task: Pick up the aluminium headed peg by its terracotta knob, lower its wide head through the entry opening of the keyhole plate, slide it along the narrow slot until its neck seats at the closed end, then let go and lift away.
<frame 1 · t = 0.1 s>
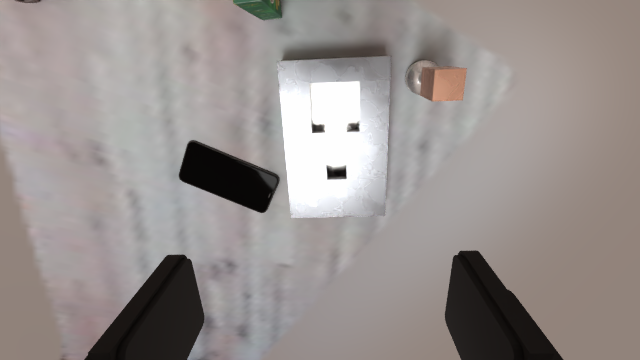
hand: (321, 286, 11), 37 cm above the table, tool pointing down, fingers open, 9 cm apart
smartphone: (230, 176, 50), on the table
keyhole plate: (335, 137, 47), on the table
peg: (421, 77, 43), on the table
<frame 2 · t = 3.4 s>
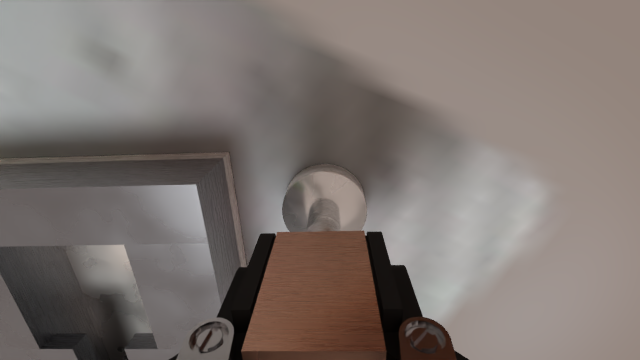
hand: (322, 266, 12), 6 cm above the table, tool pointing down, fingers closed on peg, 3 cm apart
keyhole plate: (151, 311, 21), on the table
peg: (324, 200, 18), on the table, touching gripper
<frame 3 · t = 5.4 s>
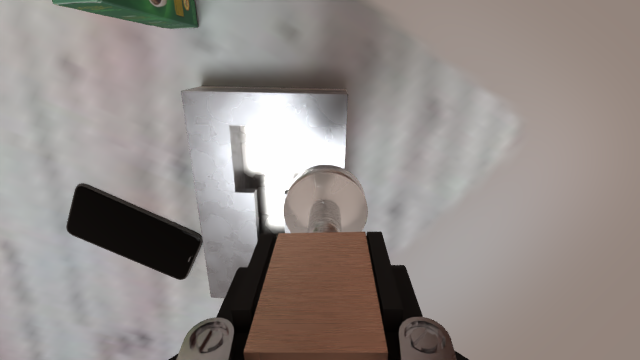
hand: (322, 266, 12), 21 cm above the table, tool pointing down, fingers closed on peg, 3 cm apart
smartphone: (138, 231, 38), on the table
keyhole plate: (277, 191, 34), on the table
peg: (325, 201, 18), point 15 cm above the table, touching gripper
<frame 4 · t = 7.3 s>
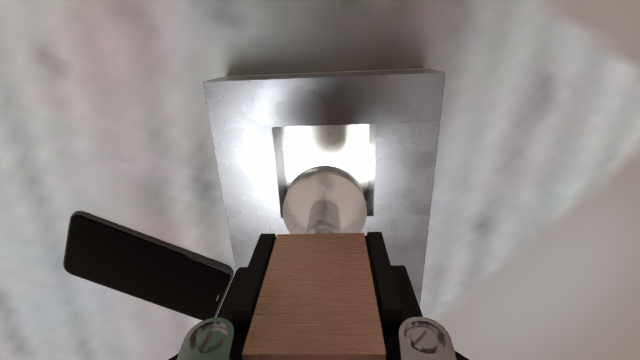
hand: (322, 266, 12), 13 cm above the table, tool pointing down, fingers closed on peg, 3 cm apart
smartphone: (152, 265, 30), on the table
keyhole plate: (328, 209, 26), on the table
peg: (324, 202, 18), point 8 cm above the table, touching gripper
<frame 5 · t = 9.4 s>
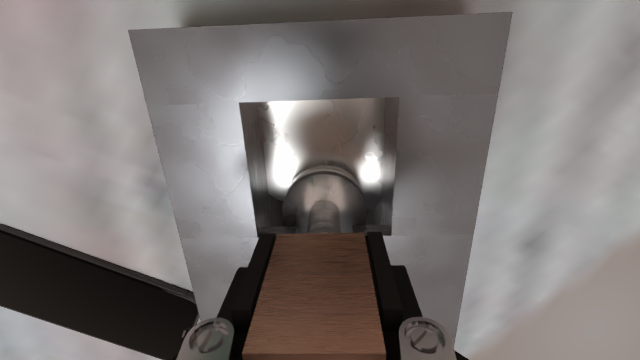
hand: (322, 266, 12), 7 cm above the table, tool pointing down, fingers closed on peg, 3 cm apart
smartphone: (99, 291, 23), on the table
keyhole plate: (326, 222, 20), on the table
peg: (324, 202, 18), point 1 cm above the table, touching gripper
when the fingers open (7 cm above the table, at t = 11.0 s): peg stays where it is, resting on keyhole plate.
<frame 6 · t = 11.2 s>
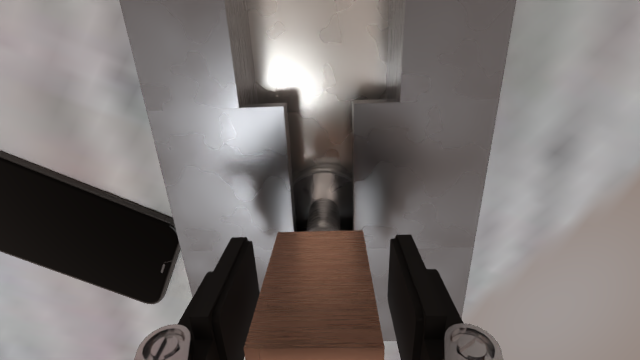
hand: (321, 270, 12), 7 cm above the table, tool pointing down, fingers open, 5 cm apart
smartphone: (68, 221, 21), on the table
keyhole plate: (322, 125, 17), on the table
peg: (324, 200, 18), point 1 cm above the table, touching keyhole plate
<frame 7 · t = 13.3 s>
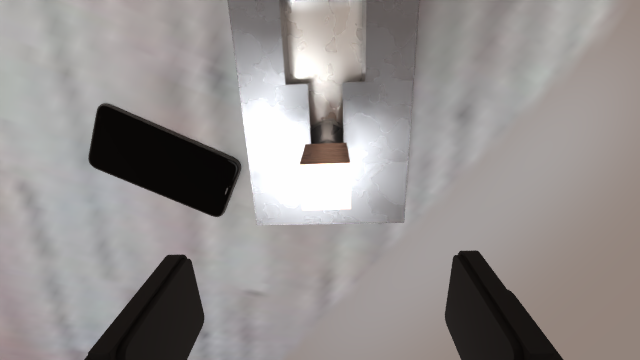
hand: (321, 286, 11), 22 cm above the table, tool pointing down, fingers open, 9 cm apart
smartphone: (167, 161, 33), on the table
keyhole plate: (326, 99, 30), on the table
peg: (327, 143, 30), point 1 cm above the table, touching keyhole plate
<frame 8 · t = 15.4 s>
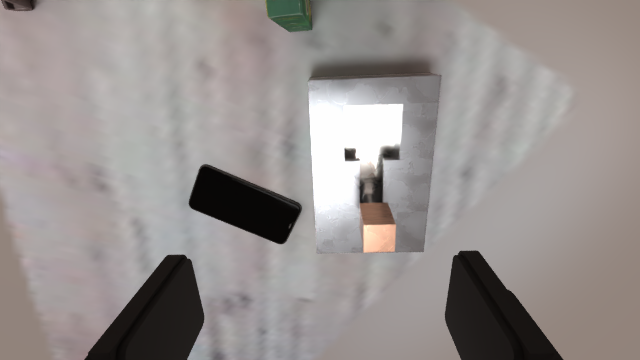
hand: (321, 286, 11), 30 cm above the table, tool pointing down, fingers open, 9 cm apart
smartphone: (246, 204, 45), on the table
keyhole plate: (367, 162, 41), on the table
peg: (367, 194, 42), point 1 cm above the table, touching keyhole plate
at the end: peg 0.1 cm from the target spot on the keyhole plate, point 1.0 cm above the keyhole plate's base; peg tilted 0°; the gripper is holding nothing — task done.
